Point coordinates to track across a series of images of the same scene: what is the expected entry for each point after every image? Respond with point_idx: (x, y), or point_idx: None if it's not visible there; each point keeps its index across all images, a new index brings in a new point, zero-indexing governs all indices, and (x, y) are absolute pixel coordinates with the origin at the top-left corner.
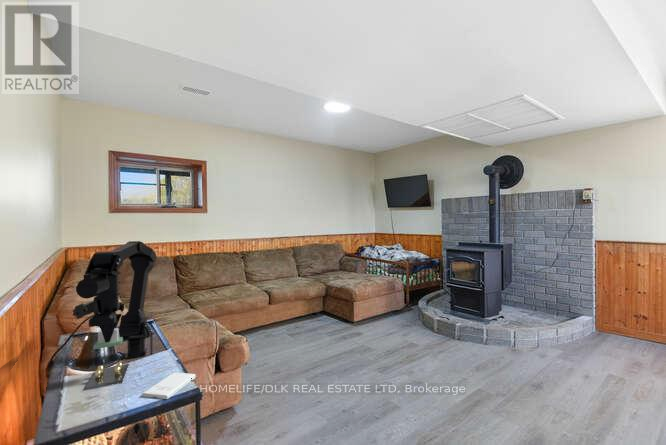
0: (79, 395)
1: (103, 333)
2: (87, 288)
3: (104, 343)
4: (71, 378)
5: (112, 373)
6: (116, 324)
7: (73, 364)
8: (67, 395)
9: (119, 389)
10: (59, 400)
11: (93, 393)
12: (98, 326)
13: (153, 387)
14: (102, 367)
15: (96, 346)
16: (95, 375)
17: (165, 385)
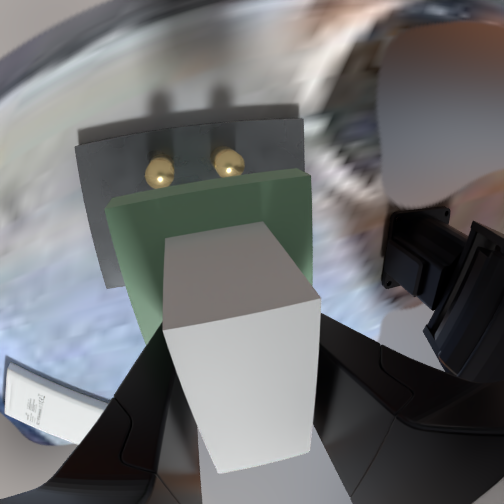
0: (35, 142)
1: (120, 401)
2: None
3: (159, 301)
4: (265, 21)
5: None
6: (339, 472)
7: (427, 17)
8: (53, 85)
9: (53, 288)
10: (20, 79)
11: (37, 197)
12: (15, 499)
13: (37, 391)
14: (221, 176)
15: (112, 236)
16: (150, 161)
17: (49, 412)
